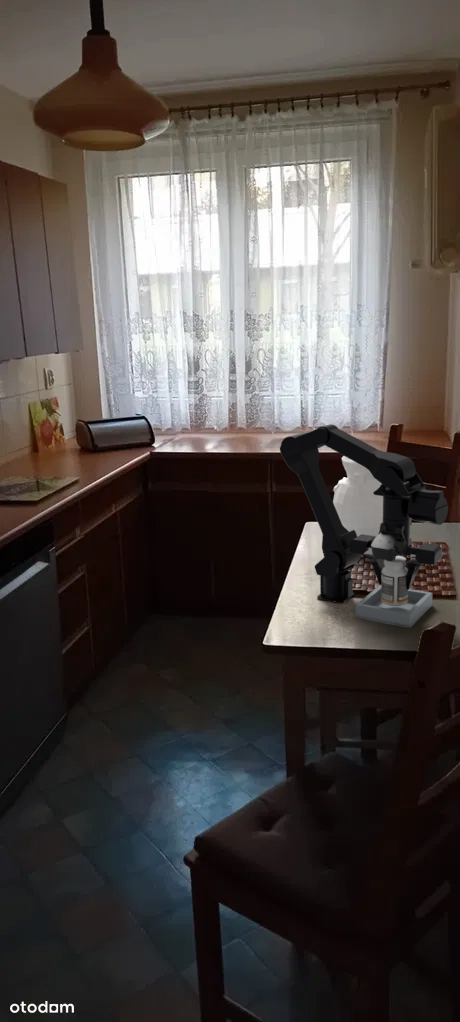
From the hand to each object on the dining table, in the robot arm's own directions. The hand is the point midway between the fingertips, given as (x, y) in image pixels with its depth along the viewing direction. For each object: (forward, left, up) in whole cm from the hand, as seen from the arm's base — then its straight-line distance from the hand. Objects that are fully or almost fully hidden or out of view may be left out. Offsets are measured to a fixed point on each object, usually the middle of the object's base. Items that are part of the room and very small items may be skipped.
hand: (394, 586), depth 169 cm
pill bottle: (0, 0, -4) cm, 4 cm away
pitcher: (-24, +41, -6) cm, 48 cm away
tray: (0, 0, -6) cm, 6 cm away
